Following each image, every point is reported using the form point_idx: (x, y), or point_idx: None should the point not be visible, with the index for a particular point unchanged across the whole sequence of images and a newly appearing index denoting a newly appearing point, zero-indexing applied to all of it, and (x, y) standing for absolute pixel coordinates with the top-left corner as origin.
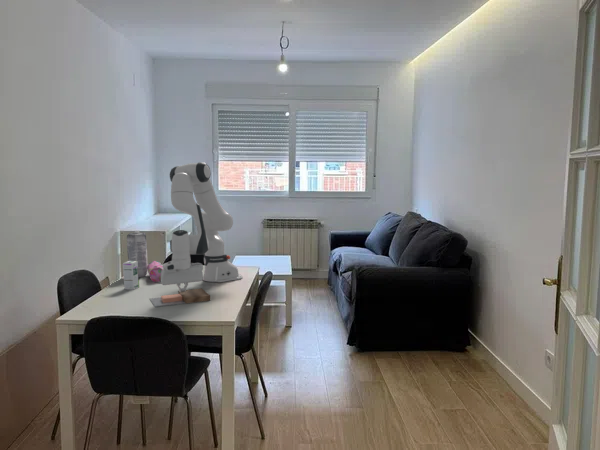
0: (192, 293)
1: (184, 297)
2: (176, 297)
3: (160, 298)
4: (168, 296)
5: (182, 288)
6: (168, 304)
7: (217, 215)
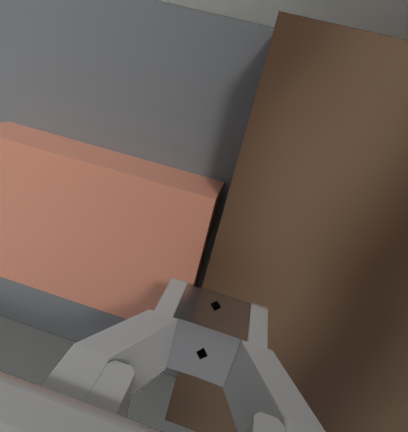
0: (349, 339)
1: (172, 395)
2: (116, 312)
3: (8, 40)
4: (42, 226)
5: (204, 347)
6: (43, 320)
7: None
